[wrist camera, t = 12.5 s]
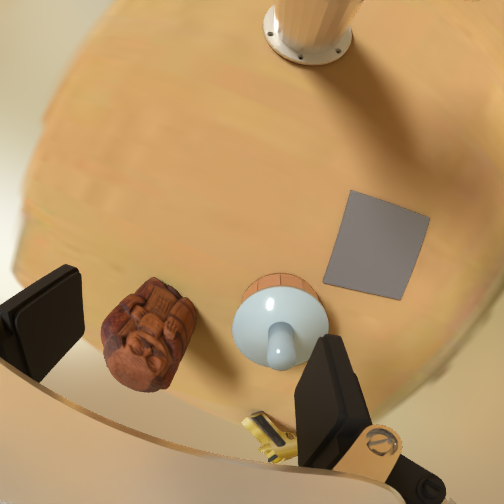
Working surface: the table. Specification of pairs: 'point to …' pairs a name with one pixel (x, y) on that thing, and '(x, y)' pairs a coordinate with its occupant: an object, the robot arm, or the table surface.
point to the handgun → (271, 438)
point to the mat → (376, 247)
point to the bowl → (278, 283)
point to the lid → (279, 326)
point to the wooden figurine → (148, 336)
